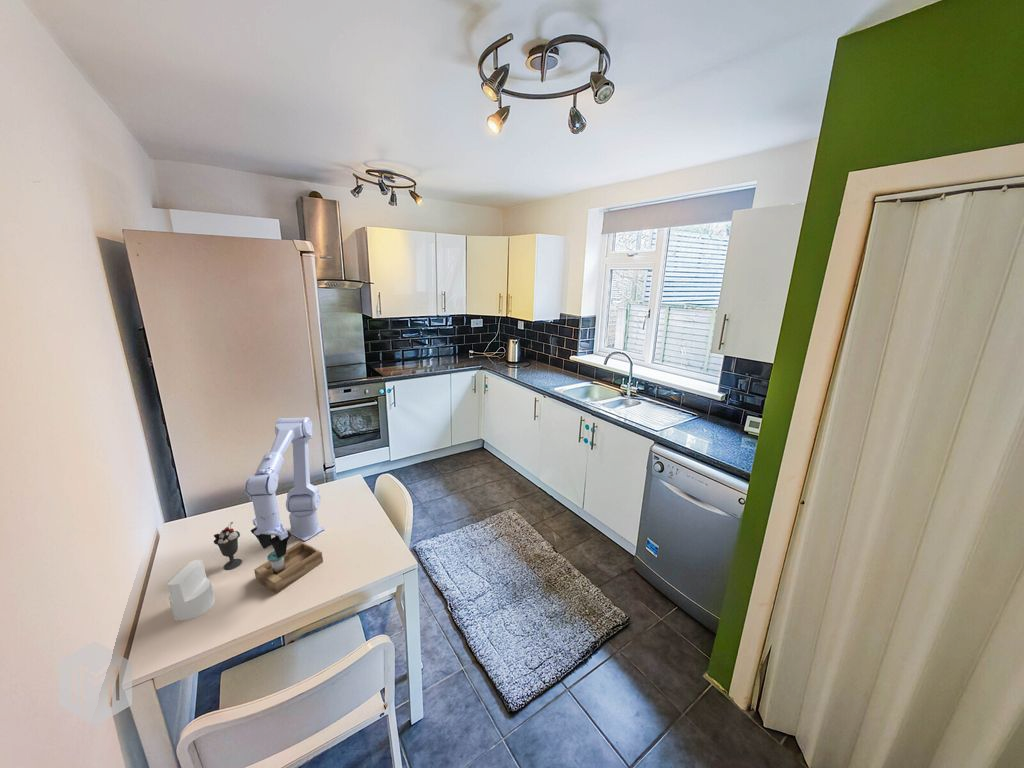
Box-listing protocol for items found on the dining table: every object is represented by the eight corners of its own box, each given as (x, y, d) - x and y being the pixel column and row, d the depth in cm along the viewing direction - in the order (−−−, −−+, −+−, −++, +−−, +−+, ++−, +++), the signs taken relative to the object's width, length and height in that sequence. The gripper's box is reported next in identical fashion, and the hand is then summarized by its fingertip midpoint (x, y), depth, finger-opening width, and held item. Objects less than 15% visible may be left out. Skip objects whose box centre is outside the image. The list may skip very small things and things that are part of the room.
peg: (268, 577, 115) (264, 556, 113) (283, 567, 119) (279, 547, 117) (276, 583, 113) (272, 561, 111) (291, 573, 117) (288, 552, 115)
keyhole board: (256, 579, 116) (254, 569, 115) (302, 550, 128) (301, 541, 127) (277, 593, 110) (274, 583, 109) (323, 561, 123) (321, 552, 122)
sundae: (250, 559, 124) (242, 520, 120) (229, 574, 118) (220, 533, 114) (236, 554, 126) (227, 516, 122) (215, 568, 120) (205, 528, 116)
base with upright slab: (200, 620, 102) (190, 583, 99) (165, 622, 101) (154, 585, 98) (222, 593, 111) (214, 559, 107) (190, 595, 110) (180, 560, 107)
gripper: (238, 511, 110) (247, 551, 114) (266, 527, 103) (274, 568, 107) (263, 500, 116) (271, 537, 120) (291, 514, 109) (298, 553, 113)
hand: (274, 551), depth 114 cm, fingers open, 7 cm apart
